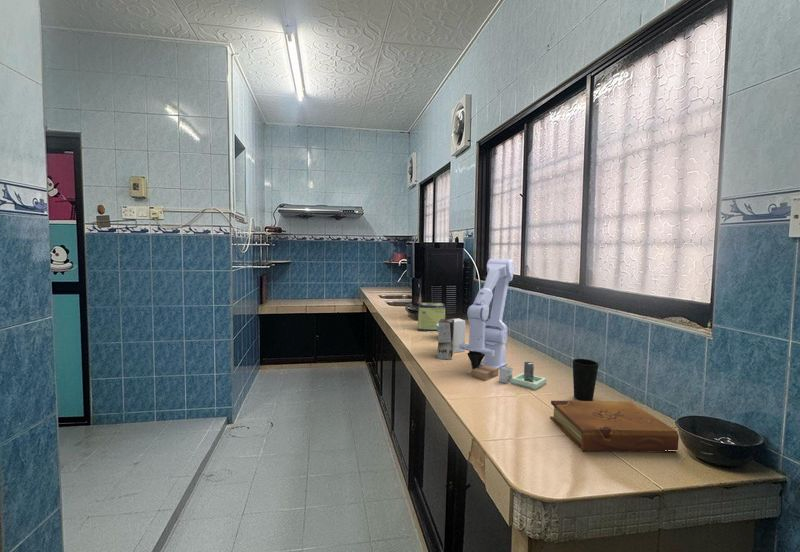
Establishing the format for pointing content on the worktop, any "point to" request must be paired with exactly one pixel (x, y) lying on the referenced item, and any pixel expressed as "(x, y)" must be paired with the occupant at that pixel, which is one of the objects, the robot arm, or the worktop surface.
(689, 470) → the worktop surface
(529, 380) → the steel pin
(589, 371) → the cup
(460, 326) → the skincare box
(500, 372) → the block
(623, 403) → the diary
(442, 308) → the protein box
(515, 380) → the green tray
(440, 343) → the coffee box
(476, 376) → the brown rectangular block
